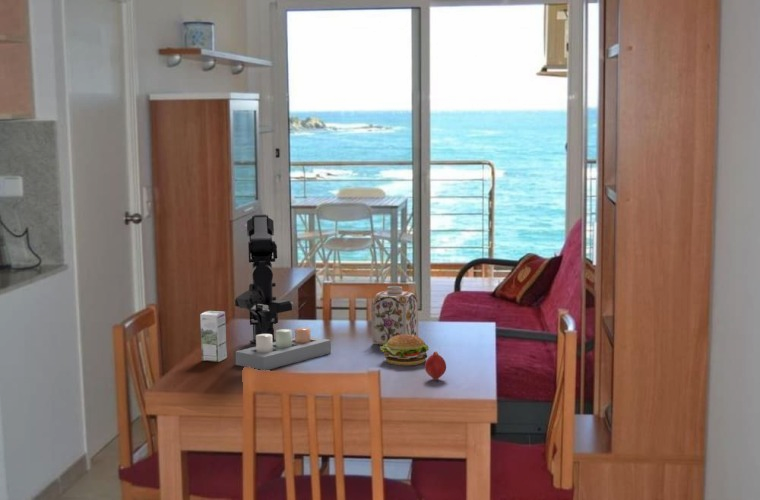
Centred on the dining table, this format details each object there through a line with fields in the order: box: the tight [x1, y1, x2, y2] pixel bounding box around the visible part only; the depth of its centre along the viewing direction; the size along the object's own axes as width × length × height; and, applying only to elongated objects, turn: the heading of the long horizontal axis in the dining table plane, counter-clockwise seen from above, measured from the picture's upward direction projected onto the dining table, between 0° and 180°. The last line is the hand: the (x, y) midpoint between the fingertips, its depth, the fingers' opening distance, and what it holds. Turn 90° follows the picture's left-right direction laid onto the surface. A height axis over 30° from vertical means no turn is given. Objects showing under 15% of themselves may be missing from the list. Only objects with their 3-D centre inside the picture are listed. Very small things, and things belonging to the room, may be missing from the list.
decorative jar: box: [371, 285, 419, 346], centre depth 327 cm, size 12×12×18 cm
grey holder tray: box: [235, 336, 332, 371], centre depth 307 cm, size 12×28×4 cm, turn 140°
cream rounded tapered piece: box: [255, 334, 273, 354], centre depth 301 cm, size 5×5×6 cm
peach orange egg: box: [294, 327, 312, 344], centre depth 313 cm, size 5×5×6 cm
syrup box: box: [199, 310, 228, 363], centre depth 307 cm, size 6×6×14 cm
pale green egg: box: [275, 328, 293, 349], centre depth 307 cm, size 5×5×6 cm
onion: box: [424, 351, 447, 381], centre depth 280 cm, size 6×6×8 cm
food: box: [379, 334, 430, 367], centre depth 301 cm, size 14×14×8 cm
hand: (264, 332), depth 300 cm, fingers closed
